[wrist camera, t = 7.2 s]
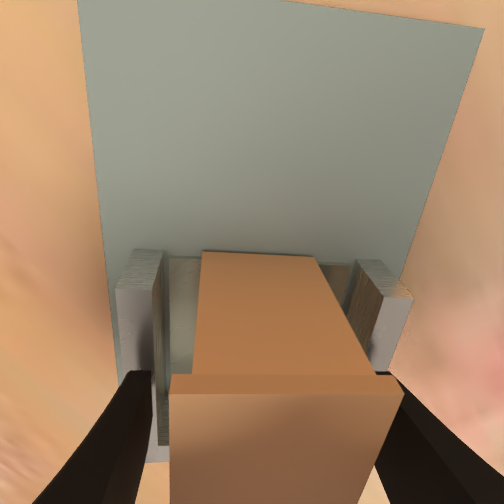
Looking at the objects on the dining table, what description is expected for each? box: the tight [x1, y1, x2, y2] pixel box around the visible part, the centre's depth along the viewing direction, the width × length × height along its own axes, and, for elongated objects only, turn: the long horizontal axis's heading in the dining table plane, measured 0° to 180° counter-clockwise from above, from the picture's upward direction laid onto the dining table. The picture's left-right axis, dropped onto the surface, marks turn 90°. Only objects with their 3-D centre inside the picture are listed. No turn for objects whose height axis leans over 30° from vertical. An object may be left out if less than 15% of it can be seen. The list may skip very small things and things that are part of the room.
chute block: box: [169, 251, 404, 504], centre depth 11 cm, size 6×5×6 cm
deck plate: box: [77, 0, 485, 392], centre depth 13 cm, size 16×11×1 cm
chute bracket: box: [115, 249, 414, 463], centre depth 13 cm, size 8×9×2 cm
